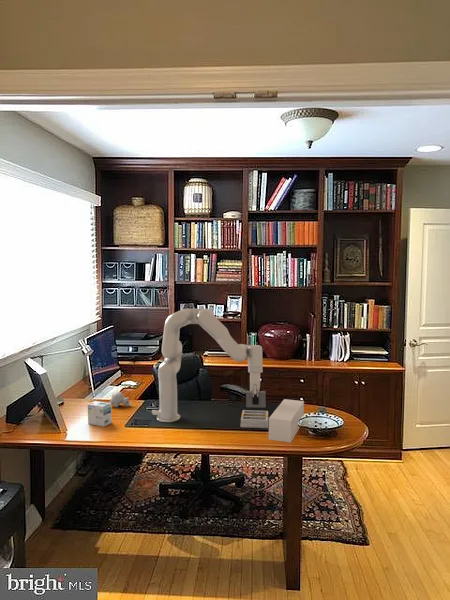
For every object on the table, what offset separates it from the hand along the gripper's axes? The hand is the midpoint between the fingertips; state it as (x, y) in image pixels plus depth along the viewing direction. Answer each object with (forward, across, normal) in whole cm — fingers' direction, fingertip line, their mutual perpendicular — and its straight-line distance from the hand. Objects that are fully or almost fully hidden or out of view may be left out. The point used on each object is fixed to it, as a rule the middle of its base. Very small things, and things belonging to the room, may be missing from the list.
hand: (255, 403), depth 247 cm
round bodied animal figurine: (+9, -19, -80) cm, 82 cm away
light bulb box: (+9, +10, -81) cm, 82 cm away
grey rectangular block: (+11, +9, +16) cm, 21 cm away
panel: (+2, 0, 0) cm, 2 cm away
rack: (+10, 0, -1) cm, 10 cm away
